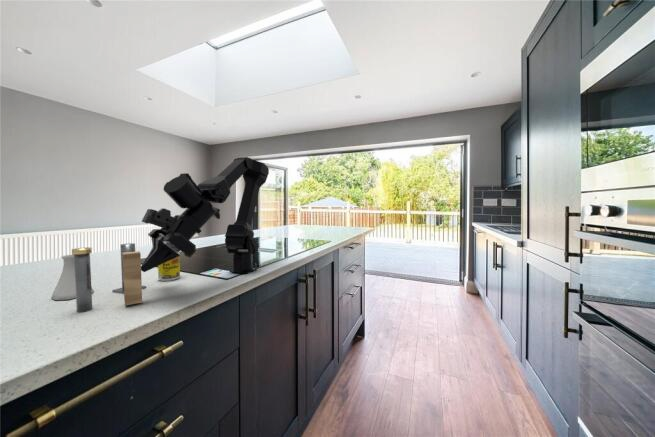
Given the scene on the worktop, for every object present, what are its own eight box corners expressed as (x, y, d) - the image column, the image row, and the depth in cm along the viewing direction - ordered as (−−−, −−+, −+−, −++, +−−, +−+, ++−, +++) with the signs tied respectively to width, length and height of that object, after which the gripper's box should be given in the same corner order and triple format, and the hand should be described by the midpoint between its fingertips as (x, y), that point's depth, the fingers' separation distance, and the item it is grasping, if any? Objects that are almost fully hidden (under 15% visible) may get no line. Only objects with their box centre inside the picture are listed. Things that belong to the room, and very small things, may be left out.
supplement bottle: (160, 282, 73) (159, 247, 73) (156, 278, 77) (155, 245, 77) (182, 278, 77) (181, 245, 77) (177, 275, 81) (176, 243, 81)
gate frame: (132, 286, 70) (130, 238, 70) (155, 288, 68) (153, 239, 67) (54, 309, 55) (51, 248, 54) (81, 313, 52) (77, 250, 52)
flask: (67, 302, 59) (64, 258, 58) (43, 300, 60) (40, 257, 60) (100, 291, 66) (99, 253, 65) (78, 290, 67) (76, 252, 67)
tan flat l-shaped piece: (122, 291, 64) (120, 247, 64) (137, 289, 66) (135, 246, 66) (125, 305, 55) (123, 254, 55) (142, 302, 57) (140, 252, 57)
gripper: (156, 198, 68) (102, 244, 60) (178, 195, 55) (114, 254, 47) (189, 226, 74) (144, 271, 66) (216, 229, 61) (164, 286, 53)
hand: (141, 270), depth 58 cm, fingers closed
